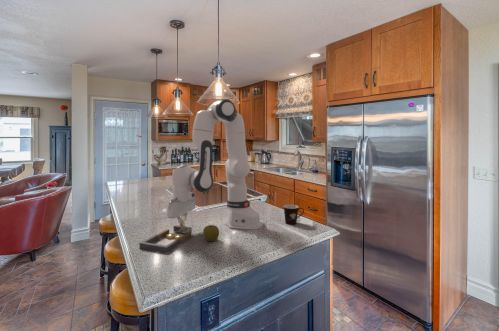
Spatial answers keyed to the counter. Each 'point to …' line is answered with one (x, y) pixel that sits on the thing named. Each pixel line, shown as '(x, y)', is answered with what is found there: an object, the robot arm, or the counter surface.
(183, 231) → the grey post with peg
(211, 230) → the apple
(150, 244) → the grey angled bracket
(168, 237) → the brass chip
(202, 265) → the counter surface
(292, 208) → the coffee mug
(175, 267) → the counter surface
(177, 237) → the brass chip
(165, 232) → the walnut slot rails
